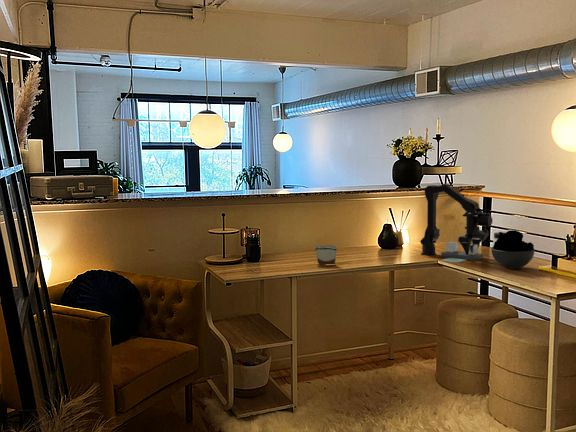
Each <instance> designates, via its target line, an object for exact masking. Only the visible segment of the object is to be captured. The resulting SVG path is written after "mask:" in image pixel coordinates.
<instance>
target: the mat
mask: <svg viewBox="0 0 576 432" xmlns="http://www.w3.org/2000/svg"><path fill="white" fill-rule="evenodd" d="M441 261H442V262H448V263H449V262H450V263H457V264H458V263H462V262H466V261H467V260H463V259H455V258H444V259H441Z"/></svg>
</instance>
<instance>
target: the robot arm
mask: <svg viewBox="0 0 576 432" xmlns="http://www.w3.org/2000/svg"><path fill="white" fill-rule="evenodd" d="M441 192H444V193H445V194H446V195H447V196H449V197H450V198H451V199H453V200H455V201H456V202H457V203H458V204H460V206H461V208H462V209H463V210H464V211H465V212H464V214H462V217H466V218H465V219H466V226H464V230H465V231H466V232H465V234H464V235H461V236H458V238H457V239H458V240H457V242H458V243H459V244H461V247H462V248H463V250H464V251H463V252H465V253H466V255H468V254H469V247H470V244H478V249H479V247H480V244H481V243H482V242H483V241H484V240H487V238H488V237H489V236H490V235H489V234H490V233H489V230H488V229H482V230H481V229H480V227H479V226H481V227H482V226H483V227H491V226H492V224H493V217H492V214H491V213H490V212H487V213H484V212H483V211H482V209H481V208H480V205H479V203H478V202H477V201H475V200H473V199H470V198H468V197H466V196H465V195H463V194H462V193H460V192H459V191H458V190H456V189H455V188H453V187H452V186H451V185H450V184H449V183H444V184H442V185H440V184H439V185H436V184H432V185H431V184H430V185H426V187H425V188H424V195H425V196H424V197H425V199H426V201H427V216H426V217H427V218H426V219H427V226H426V229H425V231H424V236H423V238H421V239H420V241H419V242H420V245H422V246H421V247H422V248H421V249H422V252H421V253H420V255H424V256H434V255H437V253H436V245H435V244H436V242H437V241H438V240H439V237H441V235H440V232H441V230H440V228H437V200H438V198H439V193H441Z"/></svg>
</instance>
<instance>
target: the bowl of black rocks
mask: <svg viewBox="0 0 576 432" xmlns="http://www.w3.org/2000/svg"><path fill="white" fill-rule="evenodd" d="M498 232H499V236H500V237H499V238H498V239H497V241H495V242H494V246H493V245H492V247H490V251H491V255H492V258H494V260H495V262H496V263H497V264H499V265H500V266H501V267H503V268H506V269H510V270H516V269H521V268H523V267H525V266H527V265H528V264H529V263H530V262H531V261H532V260H533V258H534V255H535V251H536V249H535V247H534V246H535V245H534V243H532V242H531V241H530V242H525V241H524V240H523V238H524V234H523V232H521V231H520V230H516V229H511V230H508V231H506V232H505V233H504V234H503V233H502V232H503V231H498Z"/></svg>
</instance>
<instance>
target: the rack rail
mask: <svg viewBox="0 0 576 432" xmlns="http://www.w3.org/2000/svg"><path fill="white" fill-rule="evenodd" d="M440 257H441V258H444V259H447V258H455V259H463V260H466V261H469V260H471V262H475V260H476V261H479V260H481V259H482V260H483V259H484V253H480V252H478V255H475V256H472V255H466V253H465V251H462V250H460V251H459V250H458V253H446V250H445V251H441V252H440Z"/></svg>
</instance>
